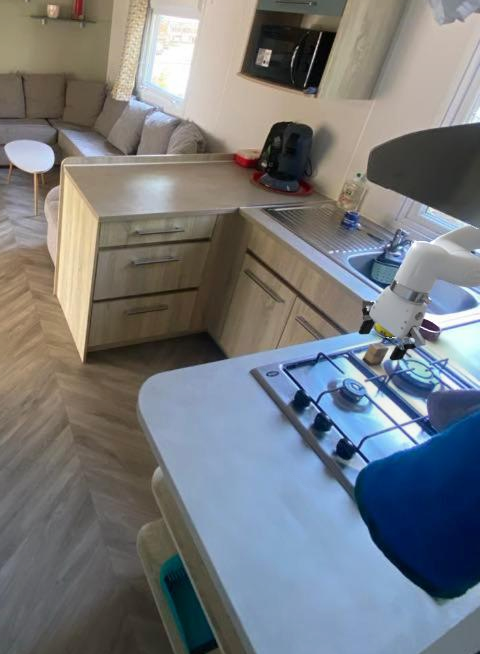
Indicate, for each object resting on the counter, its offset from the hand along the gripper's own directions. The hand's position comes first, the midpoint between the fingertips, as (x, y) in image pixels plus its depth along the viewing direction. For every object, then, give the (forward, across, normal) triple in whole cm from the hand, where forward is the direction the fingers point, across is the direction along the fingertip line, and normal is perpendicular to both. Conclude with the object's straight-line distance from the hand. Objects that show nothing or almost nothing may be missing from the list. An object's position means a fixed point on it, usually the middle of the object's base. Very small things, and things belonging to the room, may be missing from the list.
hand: (378, 346), depth 109 cm
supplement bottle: (+6, +10, -16) cm, 19 cm away
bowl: (+5, +10, -31) cm, 33 cm away
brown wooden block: (+5, 0, 0) cm, 5 cm away
